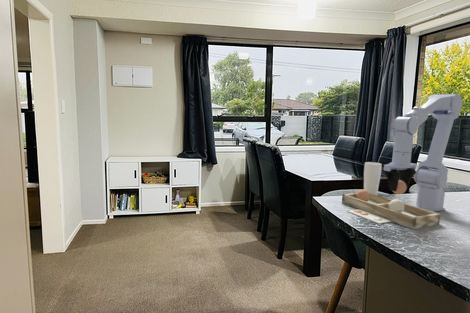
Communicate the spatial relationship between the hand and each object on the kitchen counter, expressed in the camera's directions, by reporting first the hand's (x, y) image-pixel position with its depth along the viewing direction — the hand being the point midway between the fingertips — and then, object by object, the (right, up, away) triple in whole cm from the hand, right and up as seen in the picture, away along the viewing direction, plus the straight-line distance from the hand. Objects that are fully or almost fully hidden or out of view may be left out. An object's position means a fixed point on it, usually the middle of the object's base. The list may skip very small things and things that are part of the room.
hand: (398, 190), depth 113 cm
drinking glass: (+1, -6, +26) cm, 27 cm away
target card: (-11, -9, 0) cm, 14 cm away
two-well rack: (-2, -9, +5) cm, 10 cm away
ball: (-7, -4, +14) cm, 16 cm away
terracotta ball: (0, +1, 0) cm, 1 cm away
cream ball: (0, -6, +1) cm, 6 cm away
